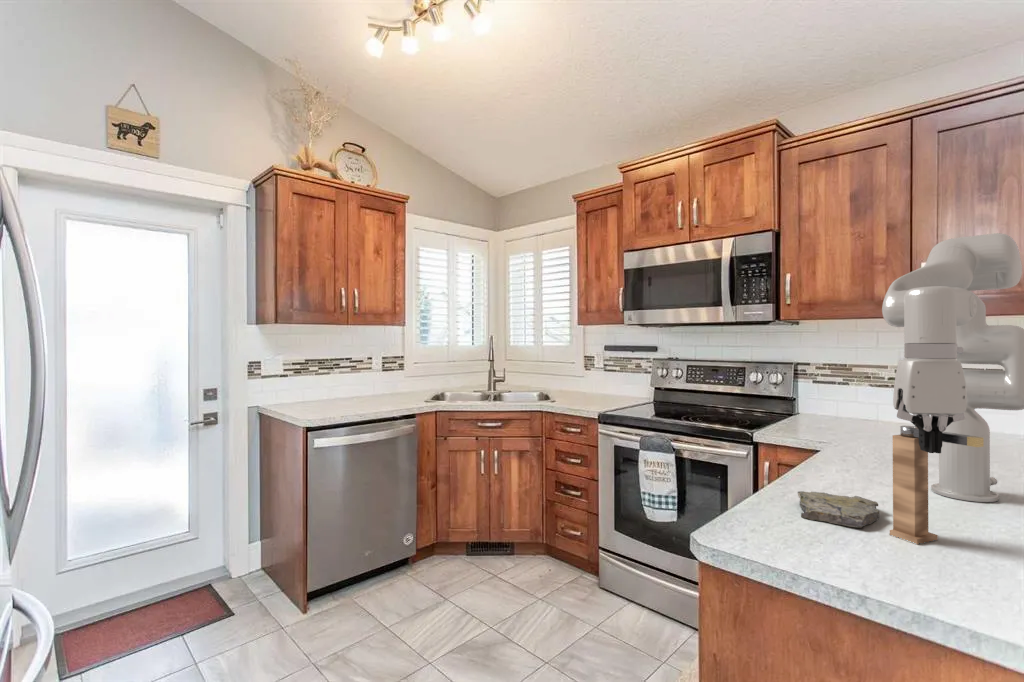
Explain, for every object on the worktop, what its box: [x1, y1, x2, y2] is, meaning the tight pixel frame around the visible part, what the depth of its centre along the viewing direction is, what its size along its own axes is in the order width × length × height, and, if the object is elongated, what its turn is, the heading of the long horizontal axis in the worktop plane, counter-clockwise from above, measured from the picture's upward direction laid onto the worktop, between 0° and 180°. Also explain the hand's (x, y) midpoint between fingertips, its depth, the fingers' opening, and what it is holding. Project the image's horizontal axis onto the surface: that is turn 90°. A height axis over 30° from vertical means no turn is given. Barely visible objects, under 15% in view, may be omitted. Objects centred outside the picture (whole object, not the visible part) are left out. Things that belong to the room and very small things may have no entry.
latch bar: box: [899, 425, 984, 447], centre depth 95 cm, size 13×3×2 cm, turn 20°
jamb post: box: [889, 434, 939, 545], centre depth 99 cm, size 6×5×20 cm
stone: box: [797, 490, 880, 528], centre depth 112 cm, size 18×15×4 cm
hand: (930, 451), depth 93 cm, fingers closed
